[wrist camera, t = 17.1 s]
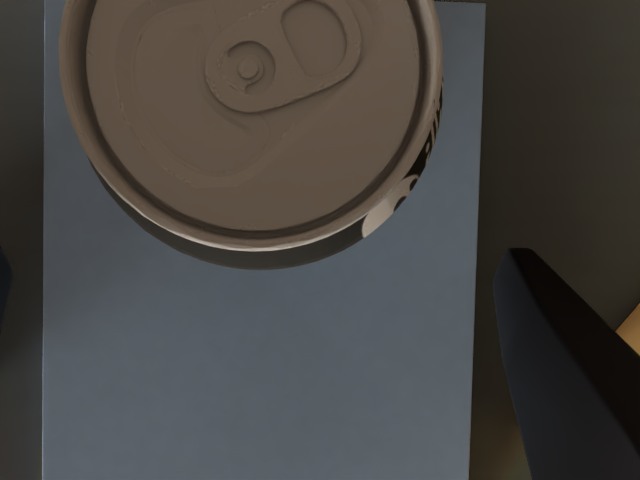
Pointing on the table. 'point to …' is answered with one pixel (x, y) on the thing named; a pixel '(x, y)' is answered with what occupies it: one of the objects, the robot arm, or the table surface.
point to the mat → (264, 324)
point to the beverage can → (254, 118)
